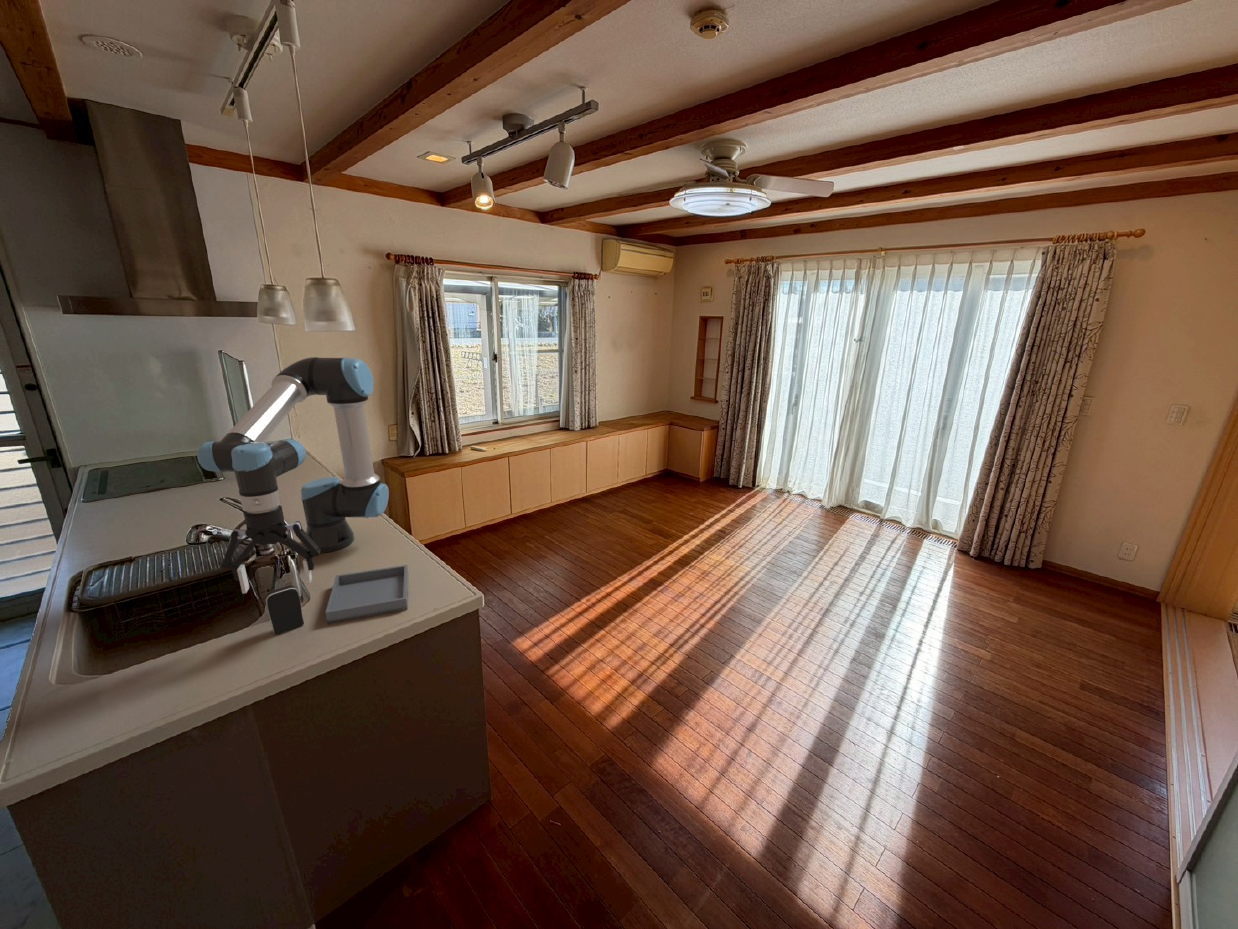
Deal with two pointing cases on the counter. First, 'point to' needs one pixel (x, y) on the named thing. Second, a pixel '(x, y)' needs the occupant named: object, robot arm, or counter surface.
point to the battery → (284, 609)
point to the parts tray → (368, 594)
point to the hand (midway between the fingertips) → (278, 585)
